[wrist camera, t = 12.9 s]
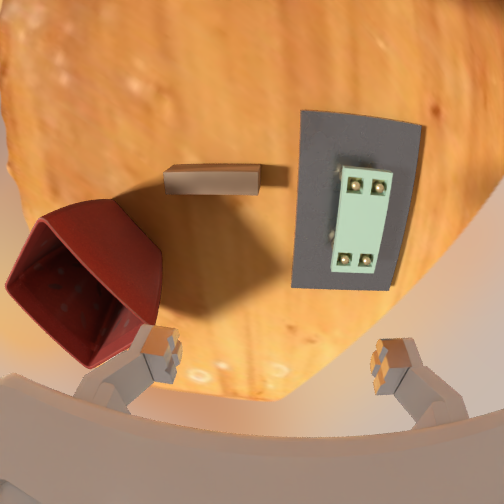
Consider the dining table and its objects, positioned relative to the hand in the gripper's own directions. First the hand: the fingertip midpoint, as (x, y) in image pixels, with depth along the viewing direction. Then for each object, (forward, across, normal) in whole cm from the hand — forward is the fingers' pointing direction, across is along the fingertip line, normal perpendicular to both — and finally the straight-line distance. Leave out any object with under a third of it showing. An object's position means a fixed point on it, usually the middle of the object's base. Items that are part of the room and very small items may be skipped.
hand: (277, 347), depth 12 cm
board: (+27, -10, +6) cm, 29 cm away
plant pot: (+31, +27, +14) cm, 44 cm away
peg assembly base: (+31, -10, +6) cm, 33 cm away
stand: (+31, +9, +2) cm, 32 cm away
